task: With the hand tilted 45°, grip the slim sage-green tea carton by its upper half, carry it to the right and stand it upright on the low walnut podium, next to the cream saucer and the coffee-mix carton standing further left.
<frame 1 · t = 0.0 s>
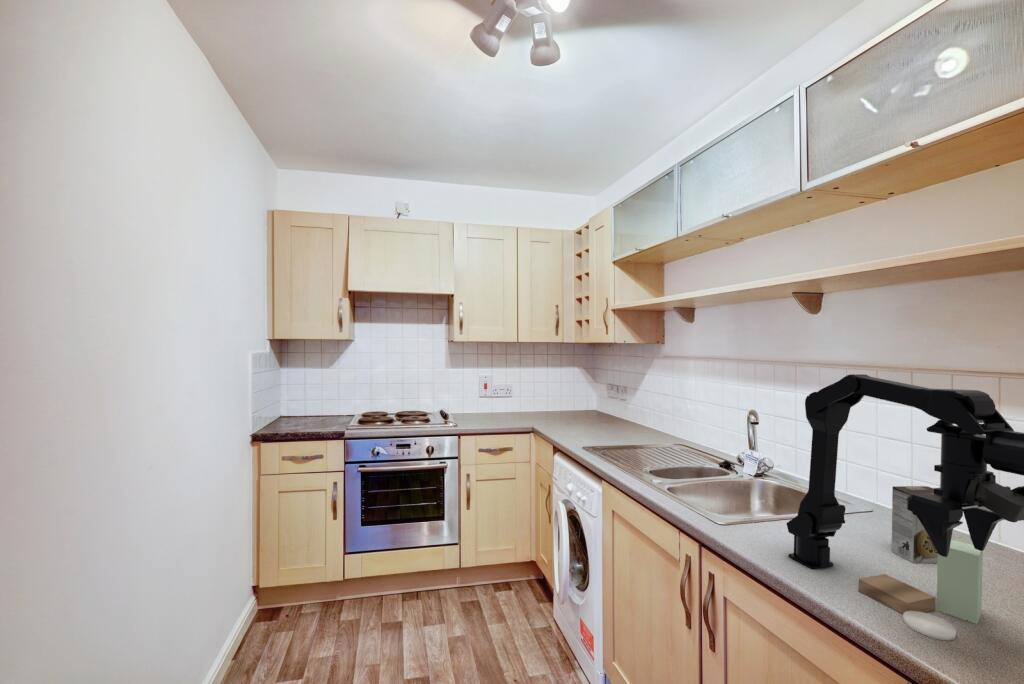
hand: (961, 552, 80), 15 cm above the counter, tool pointing down, fingers open, 9 cm apart
coffee box: (919, 558, 110), on the counter
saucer: (928, 627, 82), on the counter
tea carton: (958, 611, 88), on the counter
podium: (895, 600, 91), on the counter
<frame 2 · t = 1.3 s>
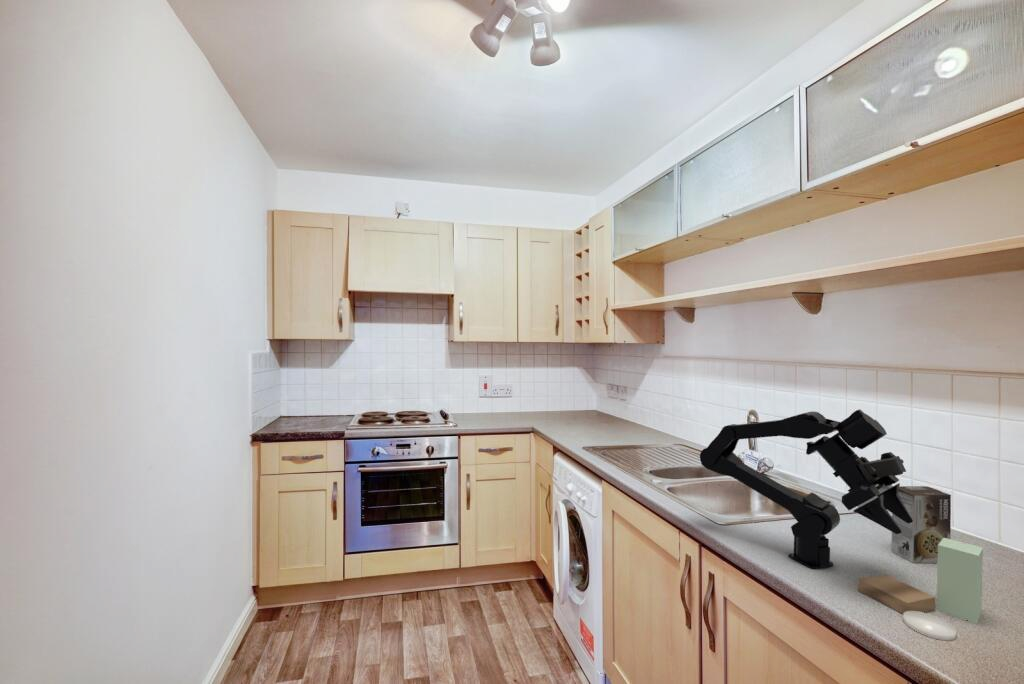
hand: (905, 527, 94), 13 cm above the counter, tool tilted 45°, fingers open, 9 cm apart
nothing on the counter moved.
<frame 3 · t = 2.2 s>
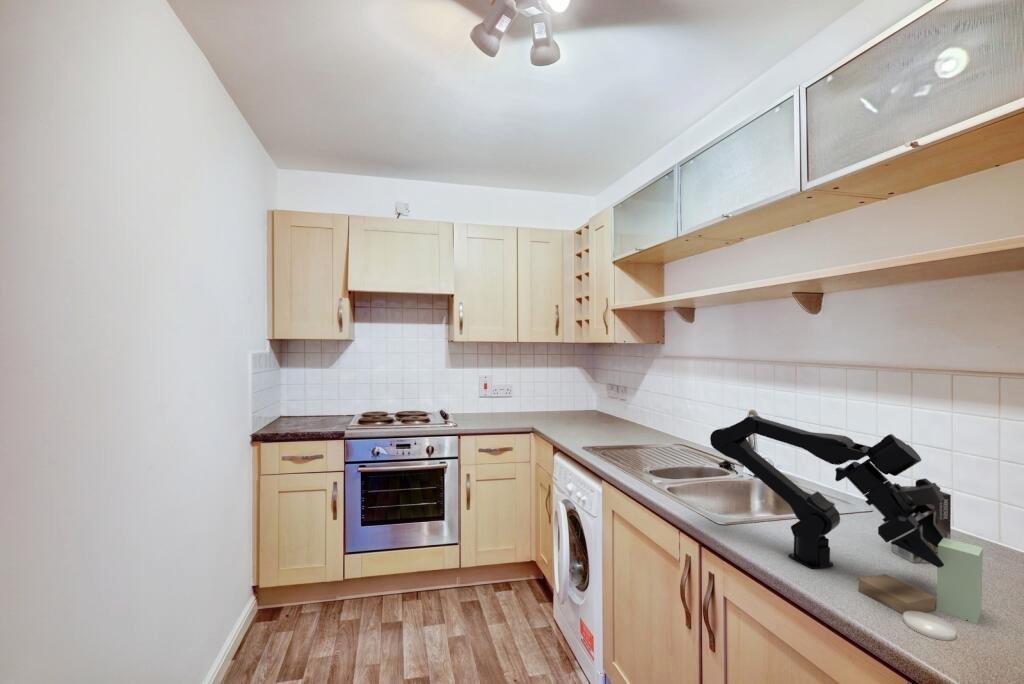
hand: (946, 559, 89), 9 cm above the counter, tool tilted 45°, fingers open, 9 cm apart
nothing on the counter moved.
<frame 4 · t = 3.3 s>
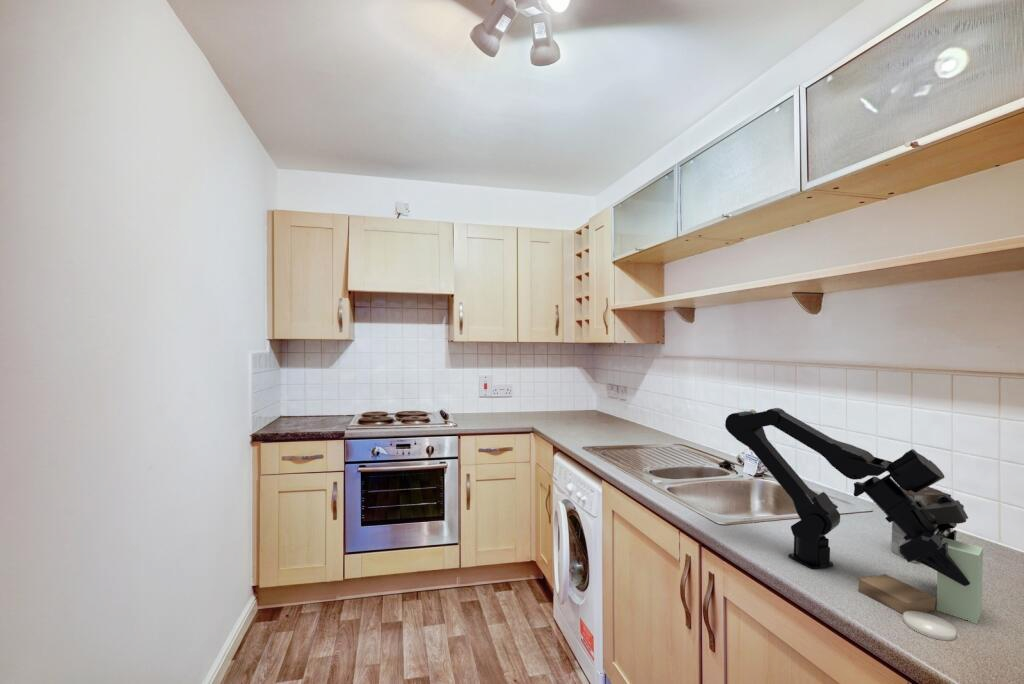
hand: (970, 580, 87), 7 cm above the counter, tool tilted 45°, fingers closed on tea carton, 5 cm apart
tea carton: (959, 611, 88), on the counter, touching gripper
everything else where it was.
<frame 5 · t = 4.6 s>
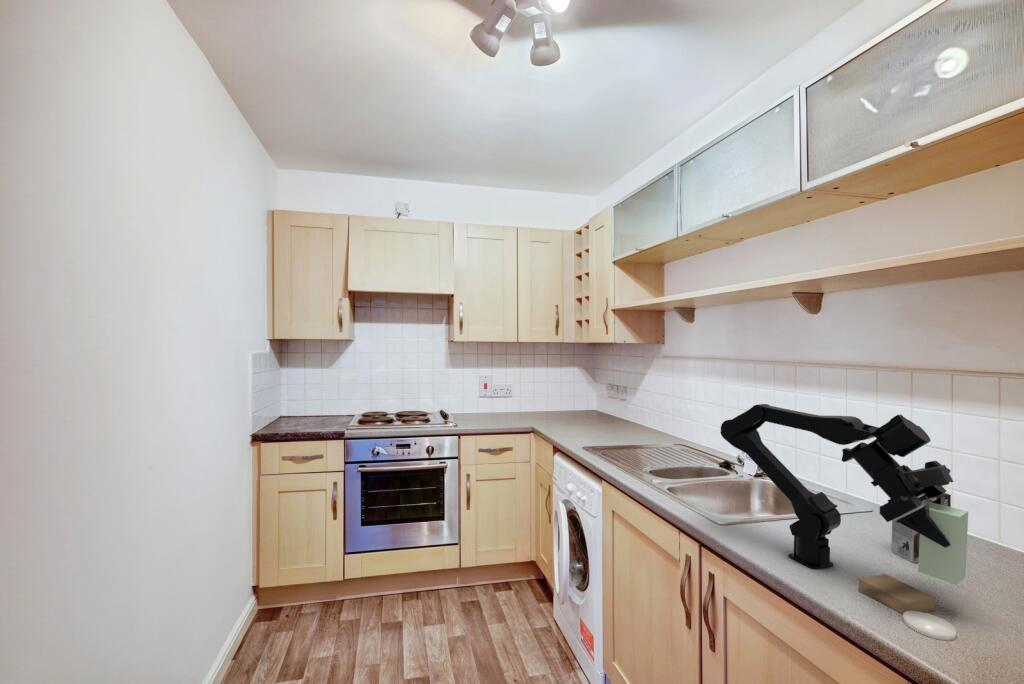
hand: (952, 542, 87), 13 cm above the counter, tool tilted 45°, fingers closed on tea carton, 5 cm apart
tea carton: (941, 574, 88), point 7 cm above the counter, touching gripper
everything else where it was.
when the fingers open (10 cm above the counter, at t = 6.0 s): tea carton stays where it is, resting on podium.
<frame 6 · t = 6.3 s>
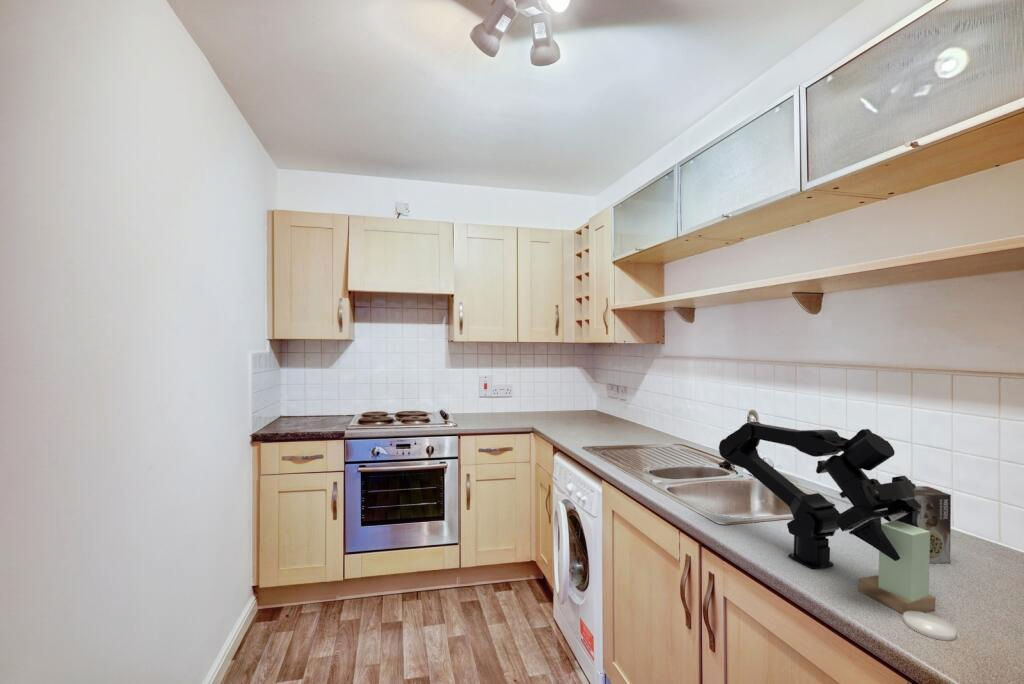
hand: (912, 556, 88), 10 cm above the counter, tool tilted 45°, fingers open, 9 cm apart
tea carton: (903, 591, 90), point 2 cm above the counter, touching podium
everything else where it was.
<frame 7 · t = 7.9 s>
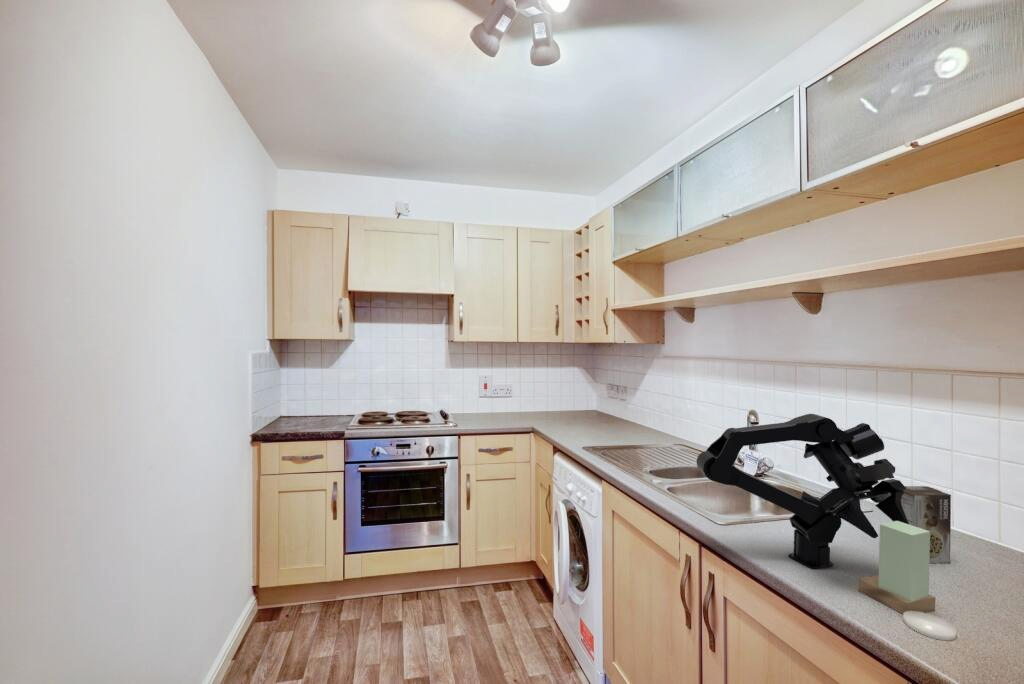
hand: (892, 534, 94), 12 cm above the counter, tool tilted 45°, fingers open, 9 cm apart
nothing on the counter moved.
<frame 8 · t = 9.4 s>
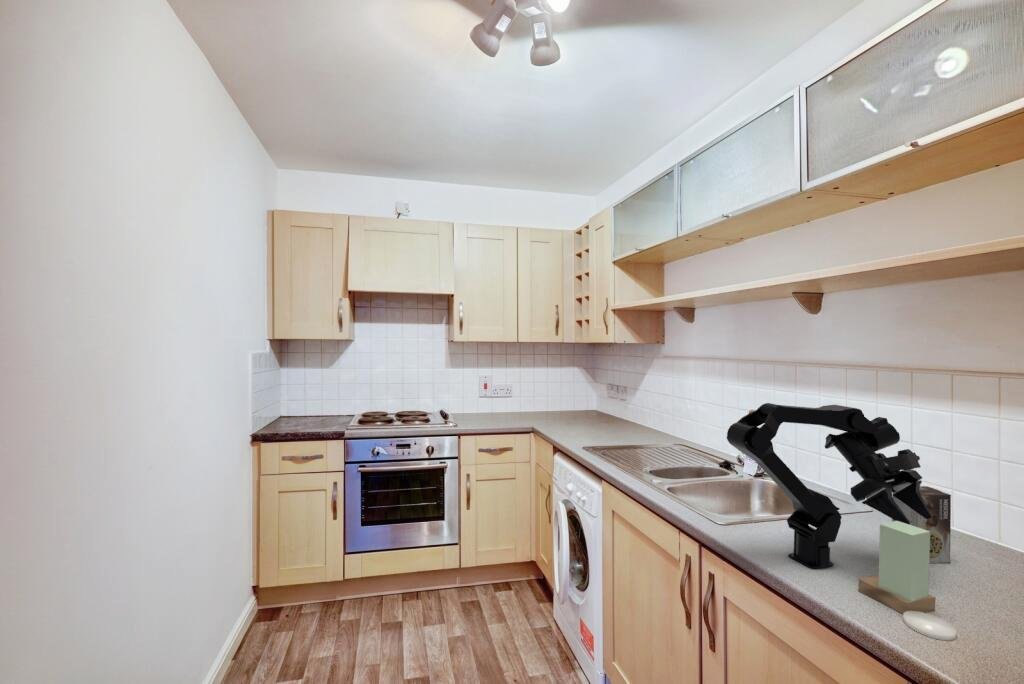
hand: (919, 521, 97), 14 cm above the counter, tool tilted 45°, fingers open, 9 cm apart
nothing on the counter moved.
at the end: tea carton inside the target area on the podium (1.5 cm from its centre), point 2.5 cm above the podium's base; tea carton tilted 0°; the gripper is holding nothing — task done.
